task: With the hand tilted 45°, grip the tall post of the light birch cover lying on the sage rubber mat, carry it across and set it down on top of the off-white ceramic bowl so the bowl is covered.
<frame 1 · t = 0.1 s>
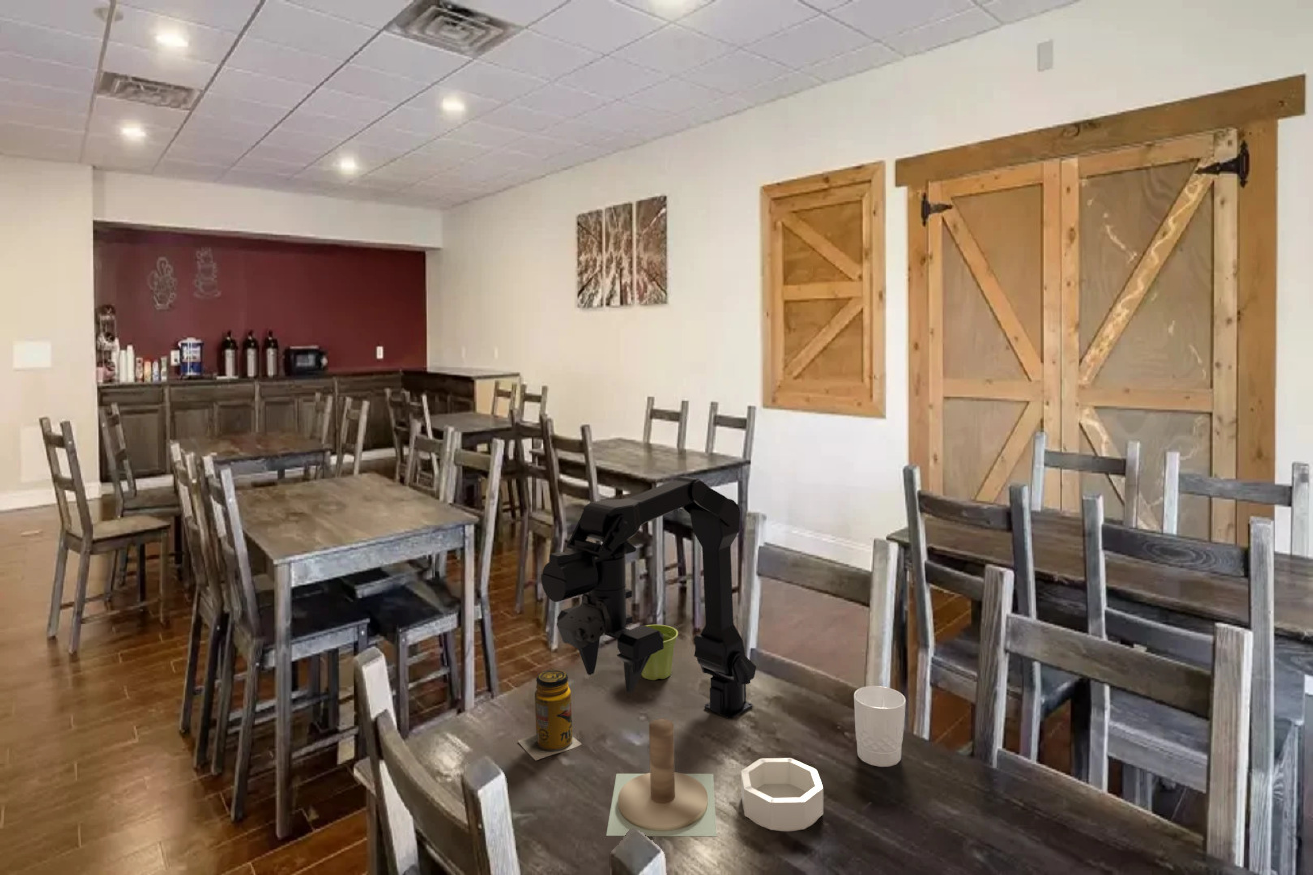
hand: (610, 682, 119), 15 cm above the table, tool pointing down, fingers open, 9 cm apart
ceramic bowl: (781, 808, 110), on the table
plant pot: (655, 675, 155), on the table
white cup: (878, 757, 124), on the table
sage mat: (663, 804, 112), on the table
birch cover: (663, 802, 112), resting on sage mat
condiment: (549, 745, 130), on the table
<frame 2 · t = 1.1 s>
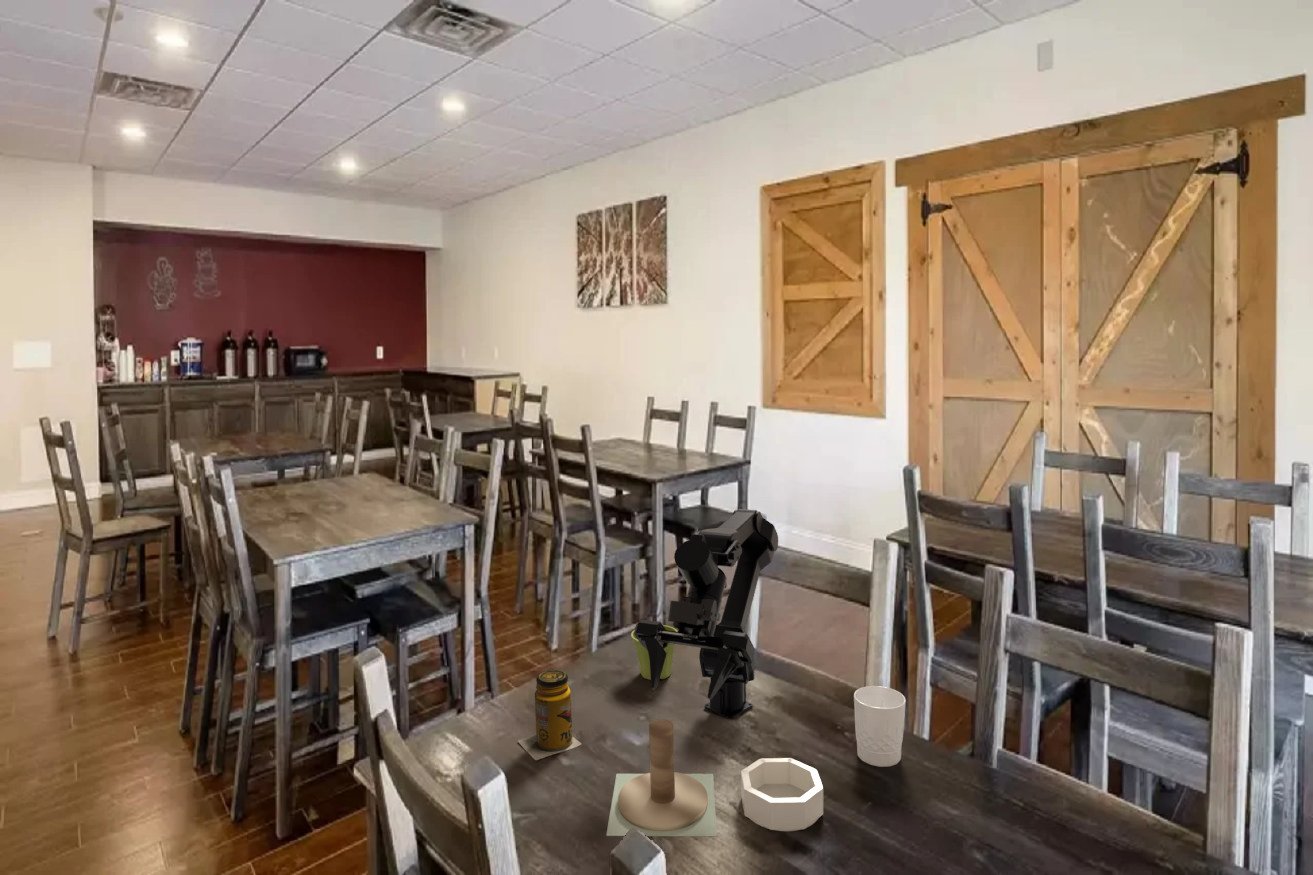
hand: (680, 693, 118), 13 cm above the table, tool tilted 45°, fingers open, 9 cm apart
nothing on the table moved.
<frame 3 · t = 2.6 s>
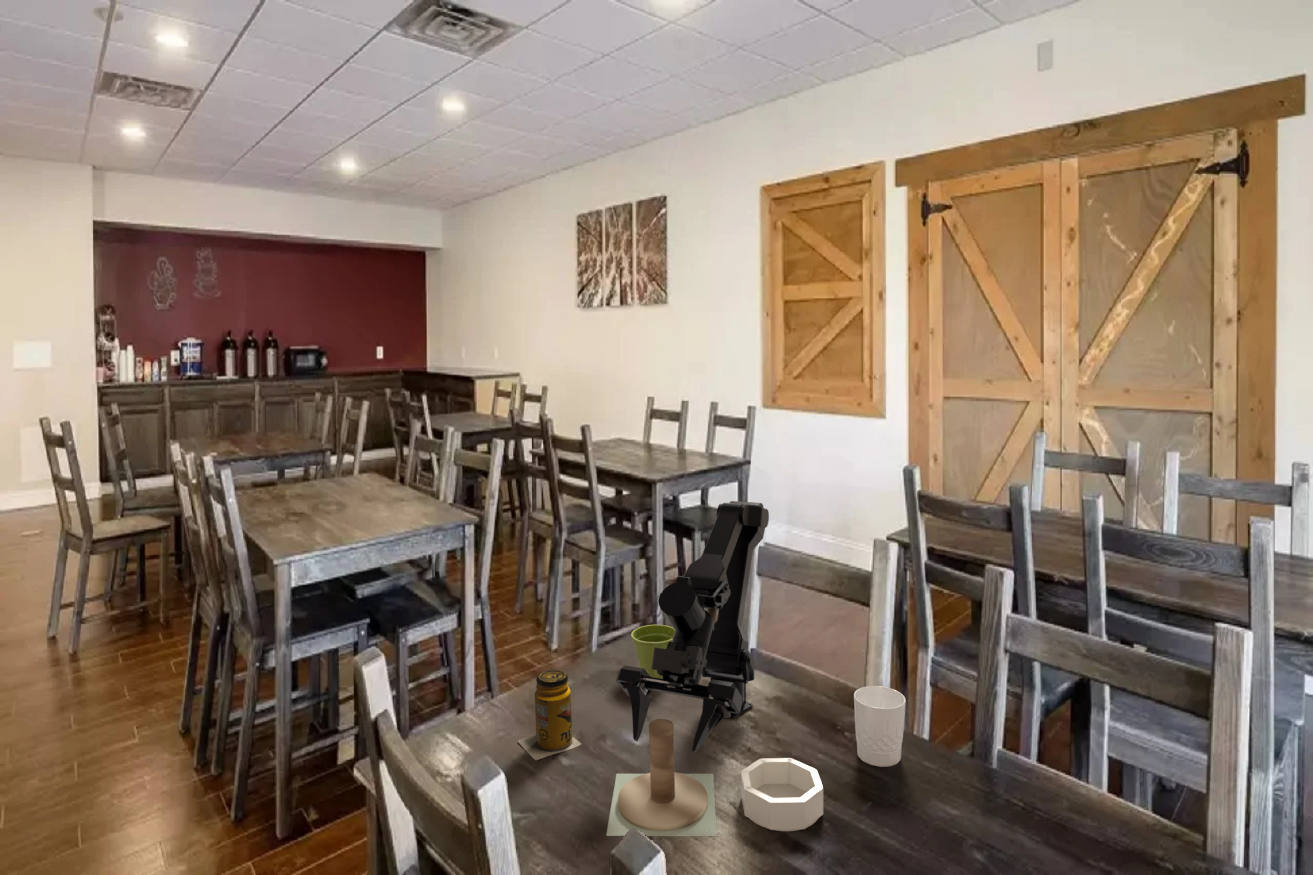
hand: (664, 746, 112), 9 cm above the table, tool tilted 45°, fingers open, 9 cm apart
nothing on the table moved.
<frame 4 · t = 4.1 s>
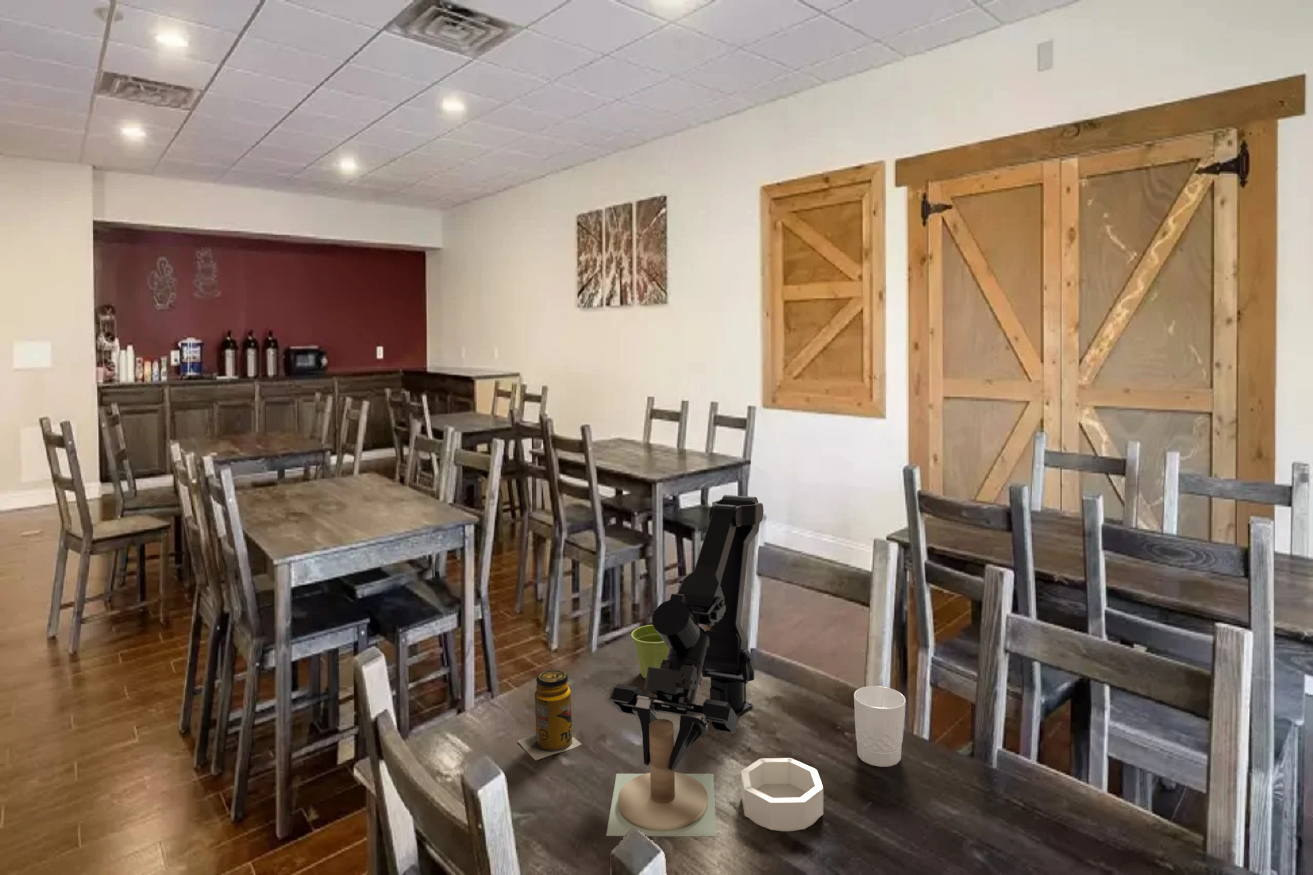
hand: (658, 767, 110), 7 cm above the table, tool tilted 45°, fingers closed on birch cover, 3 cm apart
birch cover: (663, 802, 112), resting on sage mat, touching gripper
everything else where it was.
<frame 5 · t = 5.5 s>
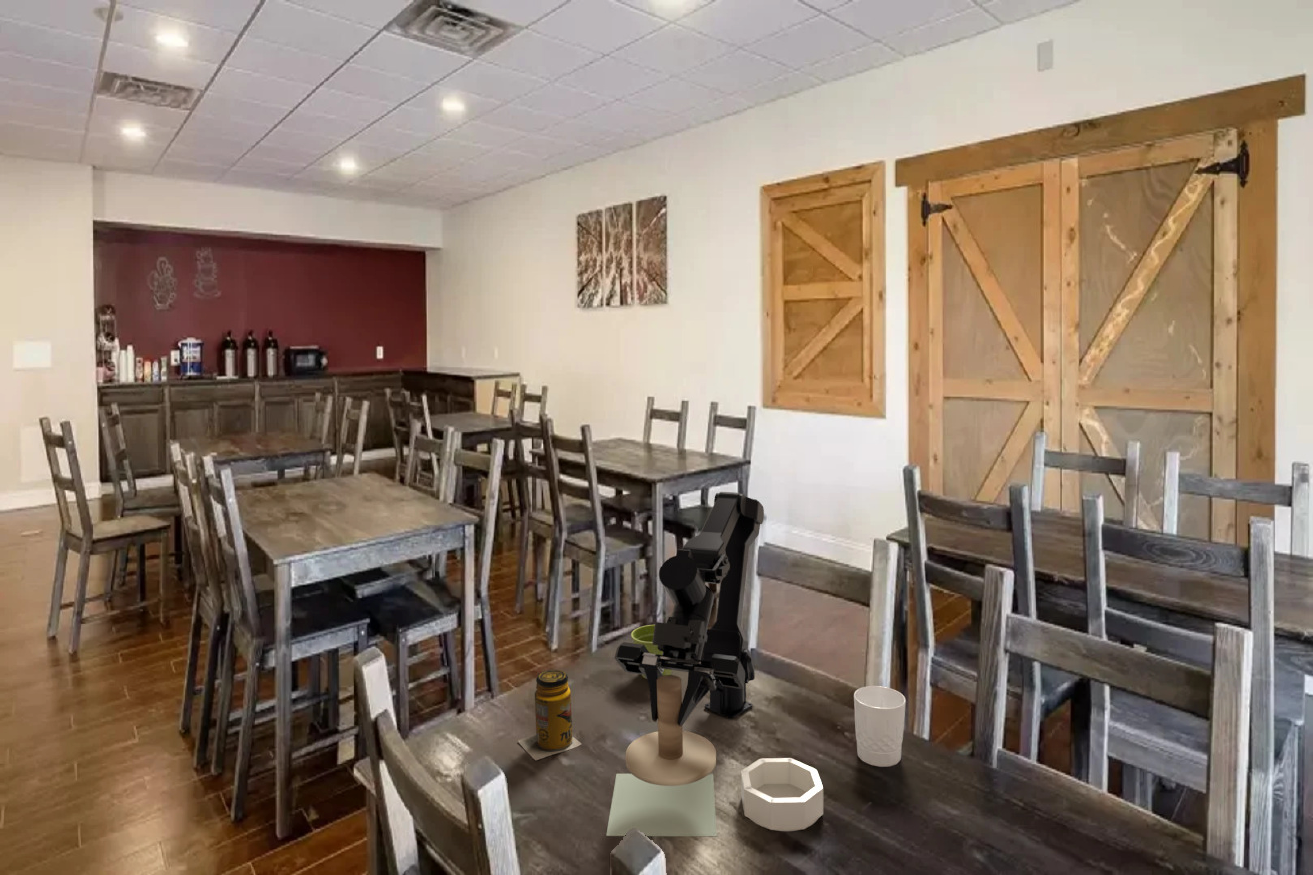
hand: (666, 723, 108), 13 cm above the table, tool tilted 45°, fingers closed on birch cover, 3 cm apart
birch cover: (670, 759, 111), point 7 cm above the table, touching gripper
everything else where it was.
when the fingers open (12 cm above the table, at t = 7.2 s): birch cover drops 1 cm, resting on ceramic bowl.
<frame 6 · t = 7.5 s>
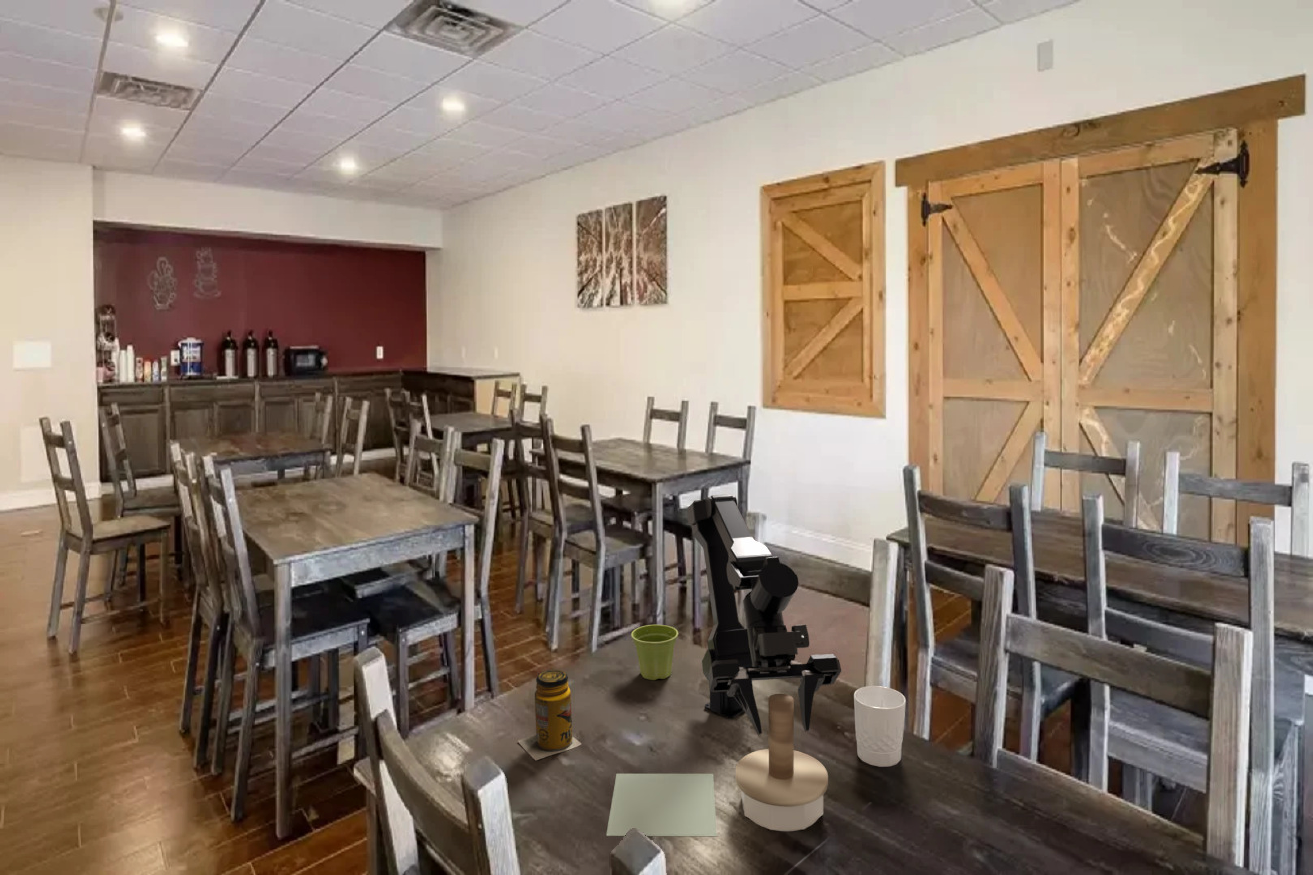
hand: (783, 732, 107), 12 cm above the table, tool tilted 45°, fingers open, 6 cm apart
birch cover: (781, 779, 110), point 4 cm above the table, touching ceramic bowl
everything else where it was.
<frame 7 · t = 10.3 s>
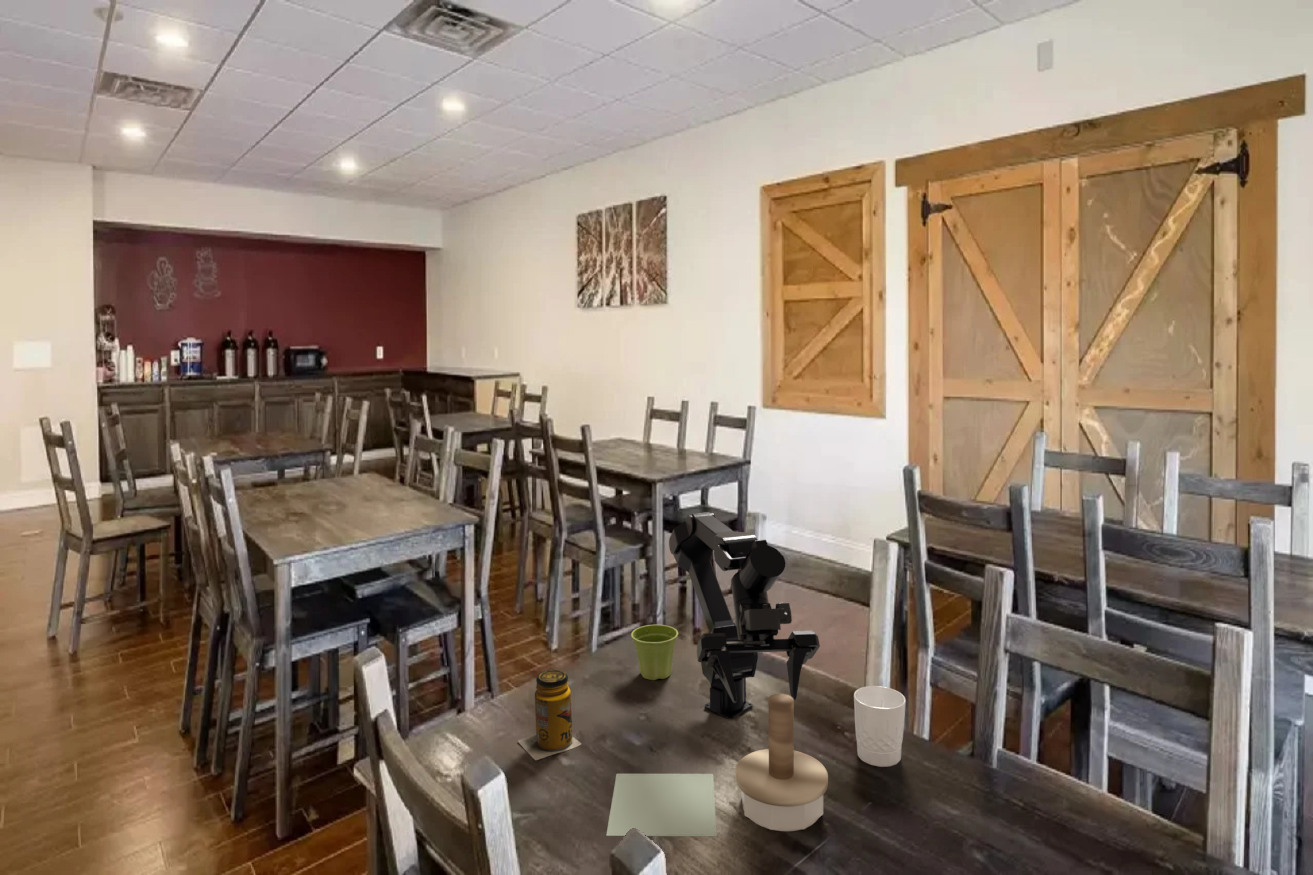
hand: (764, 700, 117), 12 cm above the table, tool tilted 45°, fingers open, 9 cm apart
nothing on the table moved.
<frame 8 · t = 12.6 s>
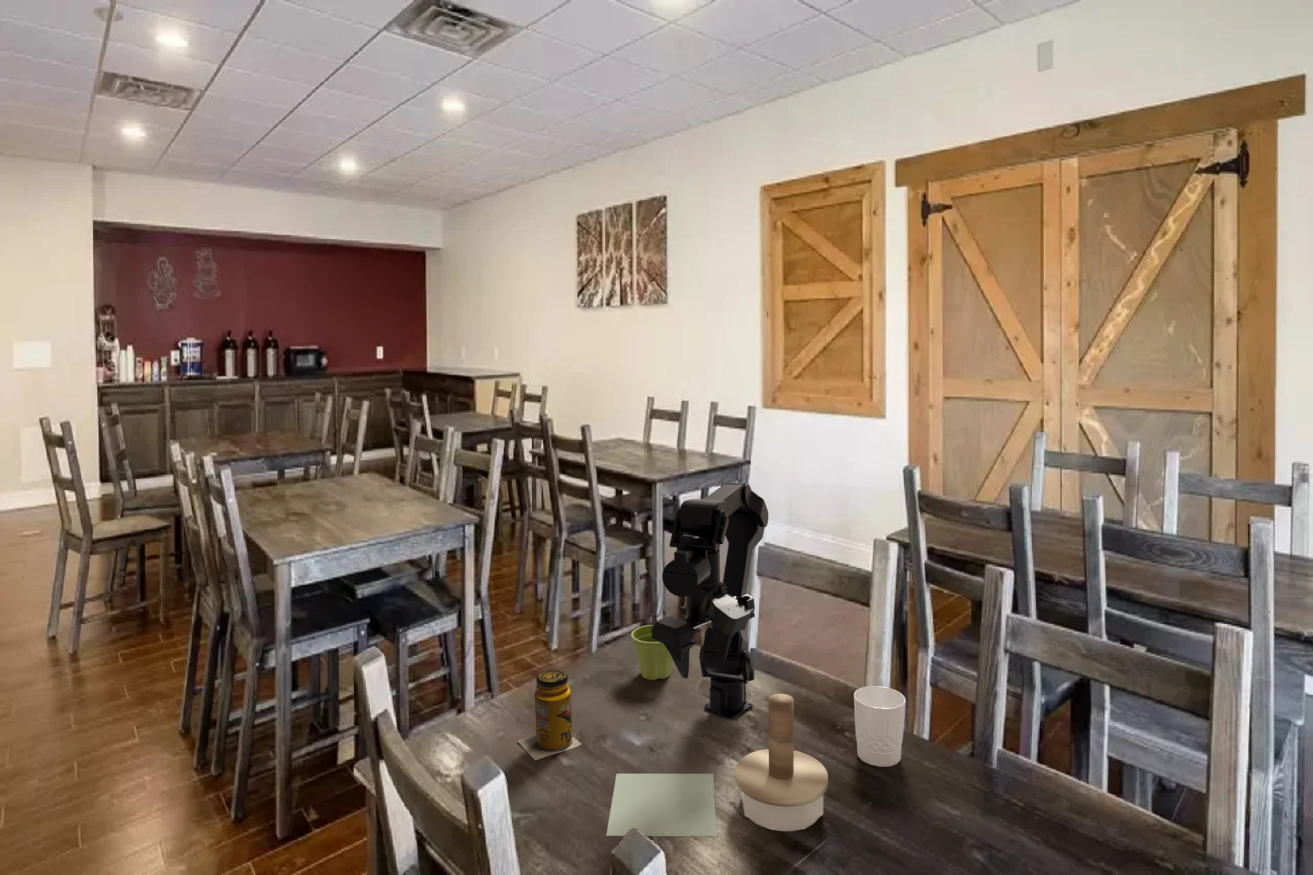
hand: (703, 668, 127), 13 cm above the table, tool pointing down, fingers open, 9 cm apart
nothing on the table moved.
at the end: birch cover 0.0 cm off-centre on the ceramic bowl, point 4.5 cm above the ceramic bowl's base; birch cover tilted 0°; the gripper is holding nothing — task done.
